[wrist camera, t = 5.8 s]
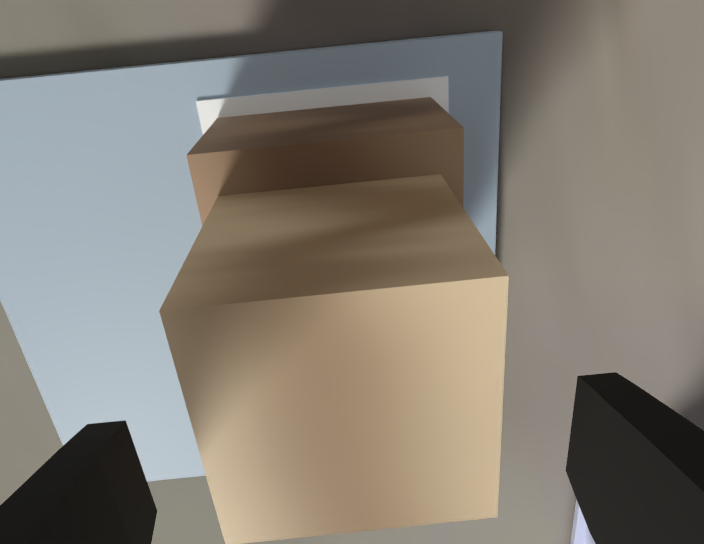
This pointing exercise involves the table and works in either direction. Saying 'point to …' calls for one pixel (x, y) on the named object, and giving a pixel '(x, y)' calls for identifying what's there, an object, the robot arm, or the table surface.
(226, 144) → the walnut block
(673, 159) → the table surface
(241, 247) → the oak cube
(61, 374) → the board
